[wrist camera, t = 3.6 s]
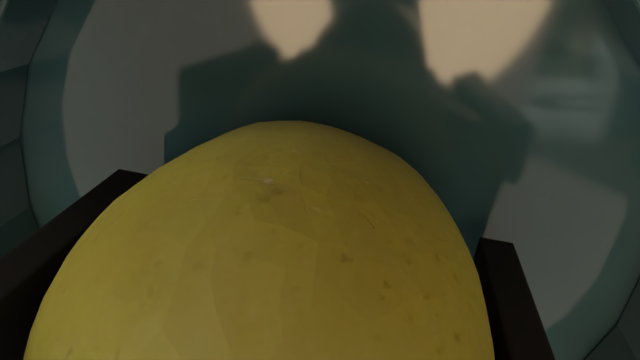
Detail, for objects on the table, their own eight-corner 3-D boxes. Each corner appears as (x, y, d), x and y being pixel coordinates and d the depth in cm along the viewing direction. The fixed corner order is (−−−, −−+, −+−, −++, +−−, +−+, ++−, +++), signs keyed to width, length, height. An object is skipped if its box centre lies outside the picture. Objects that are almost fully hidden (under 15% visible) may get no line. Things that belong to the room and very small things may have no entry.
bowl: (-98, -285, 10) (-363, -409, 7) (955, -174, 9) (1348, -264, 5) (27, 394, 19) (-60, 496, 16) (563, 521, 17) (604, 670, 14)
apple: (171, -8, 10) (-172, 549, 2) (469, 134, 13) (843, 625, 5) (76, 257, 14) (-193, 860, 6) (326, 326, 17) (396, 802, 8)
